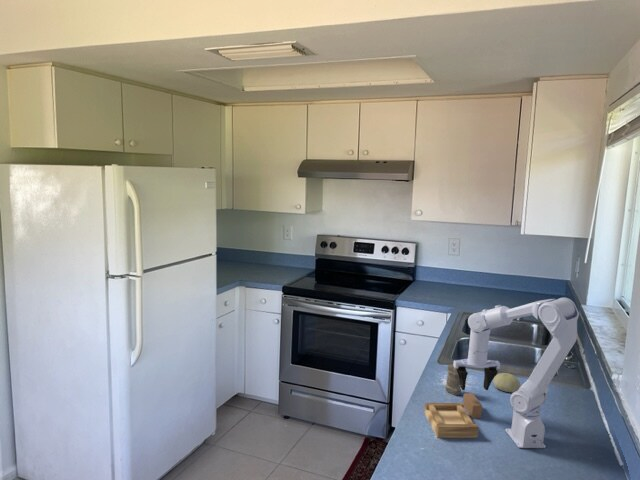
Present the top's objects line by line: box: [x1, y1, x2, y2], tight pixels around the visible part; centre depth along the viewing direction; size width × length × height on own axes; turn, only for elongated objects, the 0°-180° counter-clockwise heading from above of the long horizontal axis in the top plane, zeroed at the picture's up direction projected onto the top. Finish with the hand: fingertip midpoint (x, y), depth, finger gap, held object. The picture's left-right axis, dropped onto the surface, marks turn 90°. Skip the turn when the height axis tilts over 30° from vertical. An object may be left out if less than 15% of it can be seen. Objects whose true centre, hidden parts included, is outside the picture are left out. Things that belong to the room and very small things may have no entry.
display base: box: [423, 402, 479, 439], centre depth 152 cm, size 14×12×4 cm
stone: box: [445, 362, 462, 396], centre depth 173 cm, size 3×6×10 cm, turn 43°
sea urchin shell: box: [492, 372, 521, 393], centre depth 179 cm, size 9×8×8 cm
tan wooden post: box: [462, 392, 483, 419], centre depth 160 cm, size 8×3×4 cm, turn 4°
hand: (474, 388), depth 160 cm, fingers open, 7 cm apart
